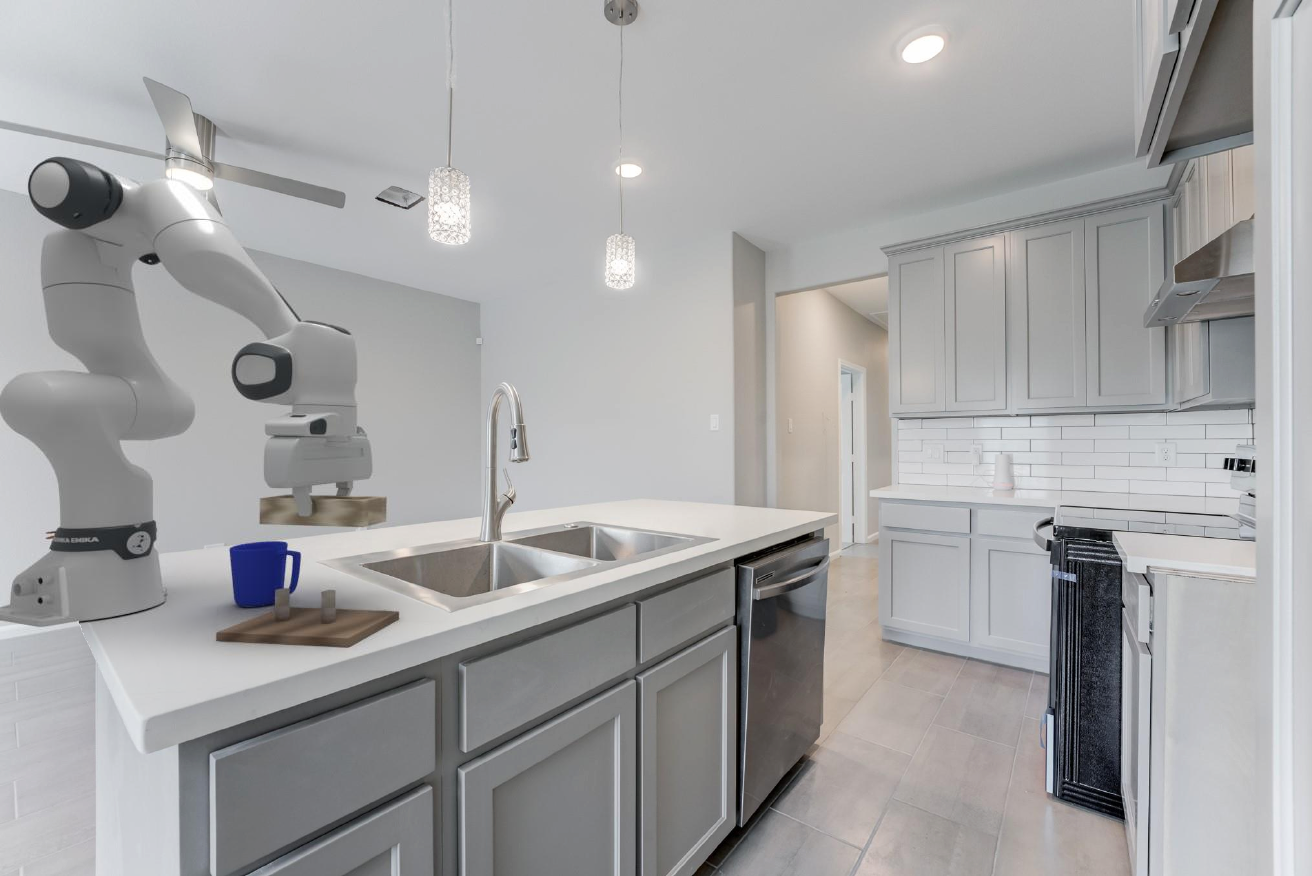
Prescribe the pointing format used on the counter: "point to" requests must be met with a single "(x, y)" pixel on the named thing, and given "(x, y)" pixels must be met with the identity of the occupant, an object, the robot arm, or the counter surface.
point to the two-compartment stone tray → (325, 511)
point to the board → (309, 624)
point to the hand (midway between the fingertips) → (324, 512)
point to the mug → (261, 571)
